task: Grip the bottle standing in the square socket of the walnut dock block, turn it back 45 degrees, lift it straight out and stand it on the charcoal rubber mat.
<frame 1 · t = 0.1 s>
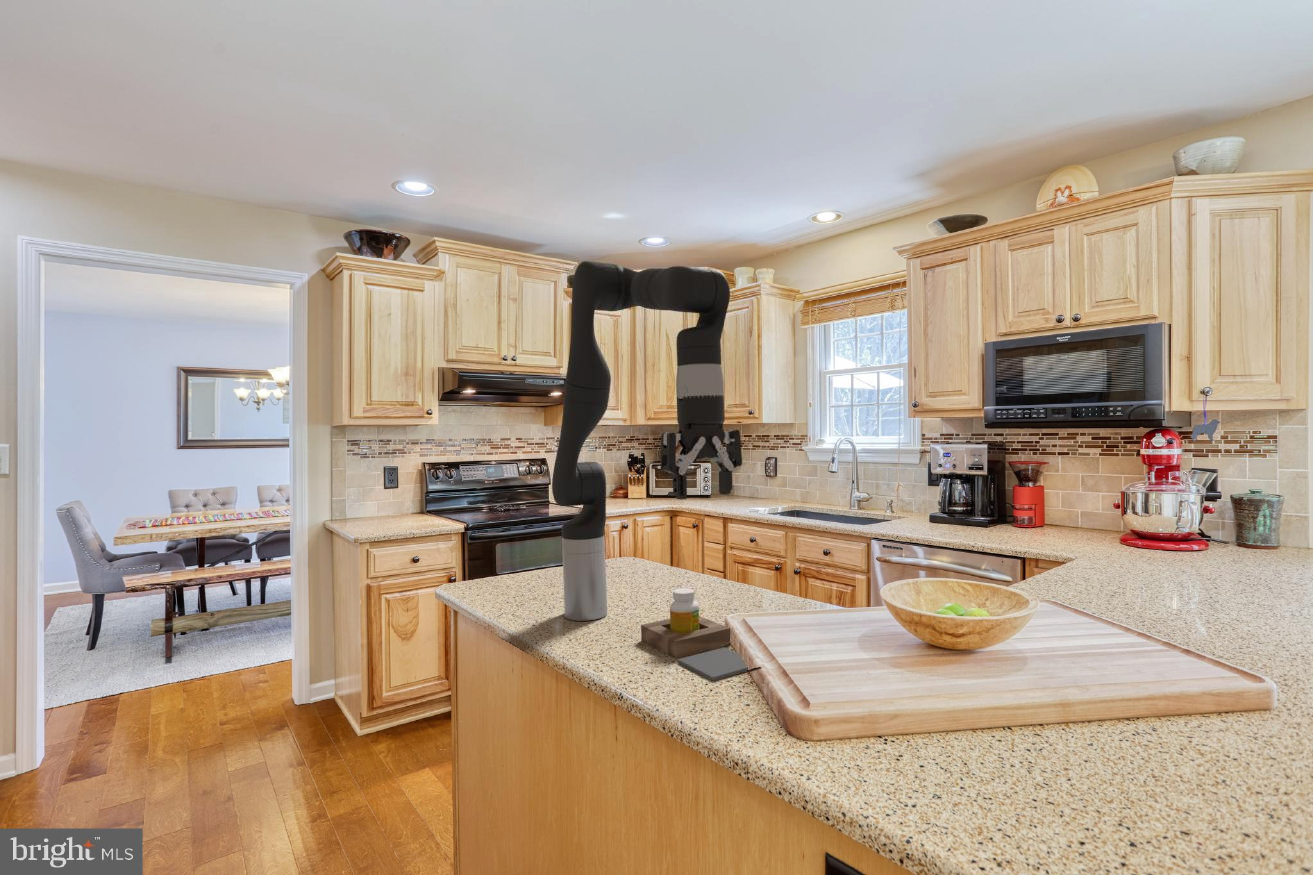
hand: (703, 496, 105), 29 cm above the countertop, tool pointing down, fingers open, 8 cm apart
supplement bottle: (685, 643, 123), resting in dock
mat: (719, 664, 111), on the countertop
dock: (685, 642, 123), on the countertop
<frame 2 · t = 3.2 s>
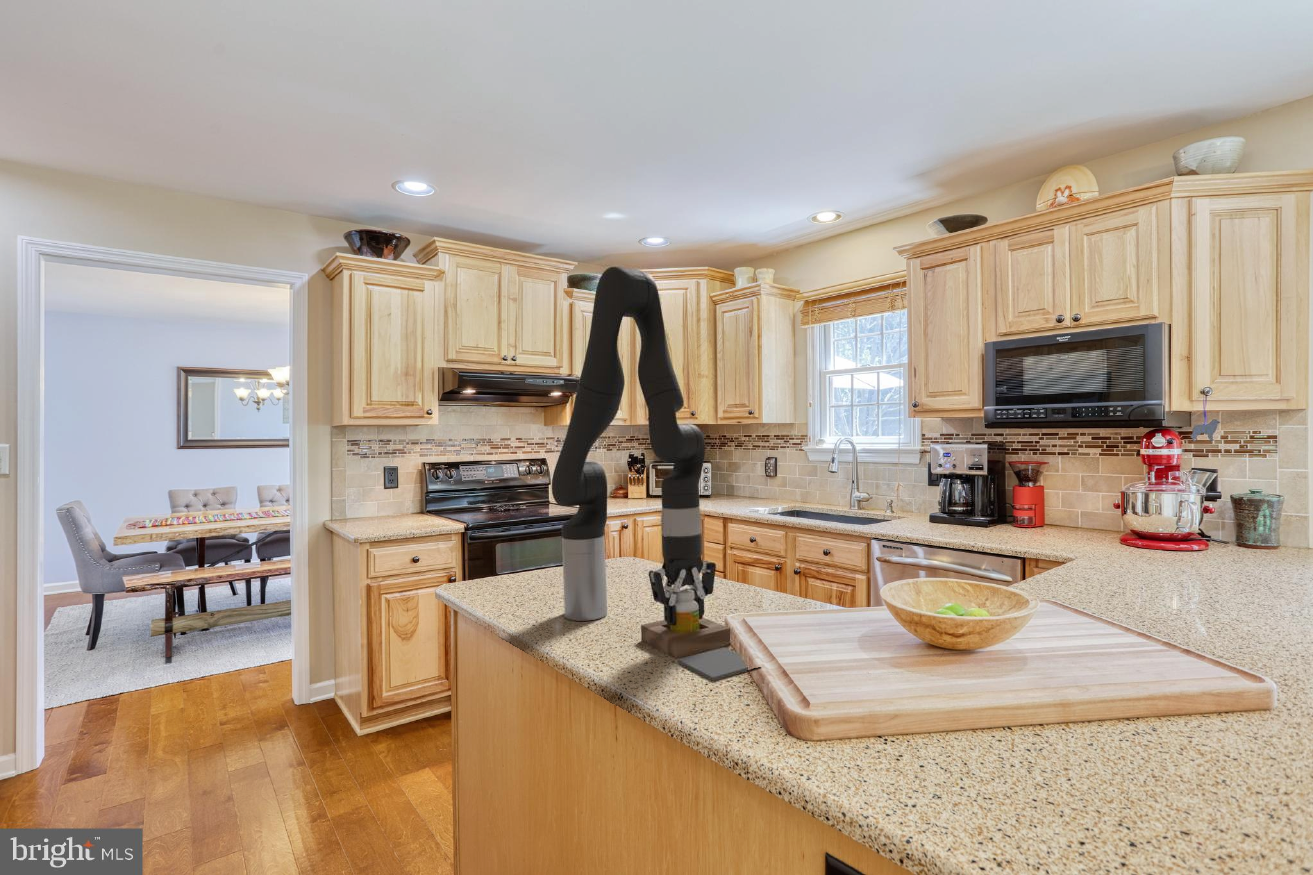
hand: (684, 621, 123), 4 cm above the countertop, tool pointing down, fingers closed on supplement bottle, 5 cm apart
supplement bottle: (685, 643, 123), resting in dock, touching gripper
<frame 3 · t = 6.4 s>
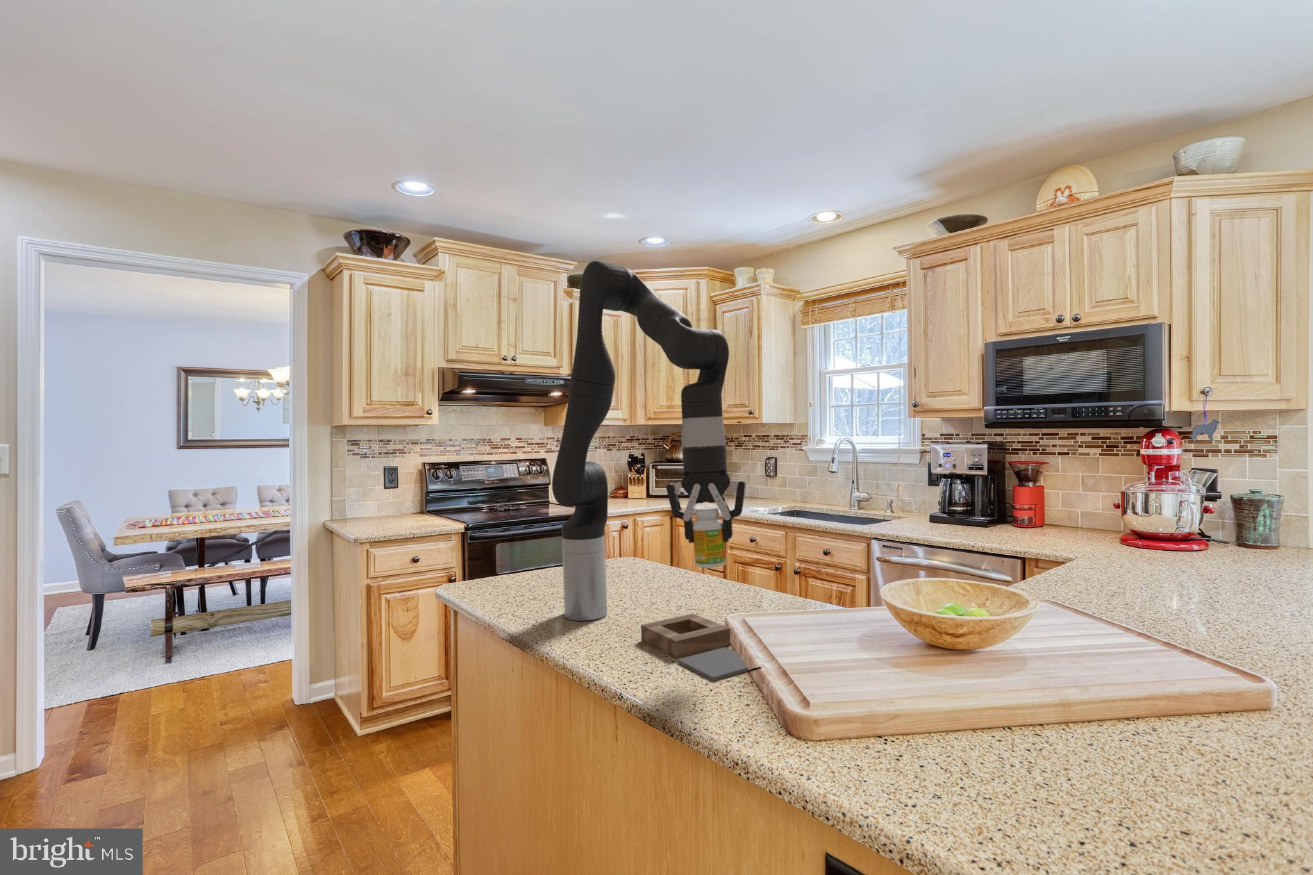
hand: (708, 541, 114), 20 cm above the countertop, tool pointing down, fingers closed on supplement bottle, 5 cm apart
supplement bottle: (711, 566, 114), point 16 cm above the countertop, touching gripper
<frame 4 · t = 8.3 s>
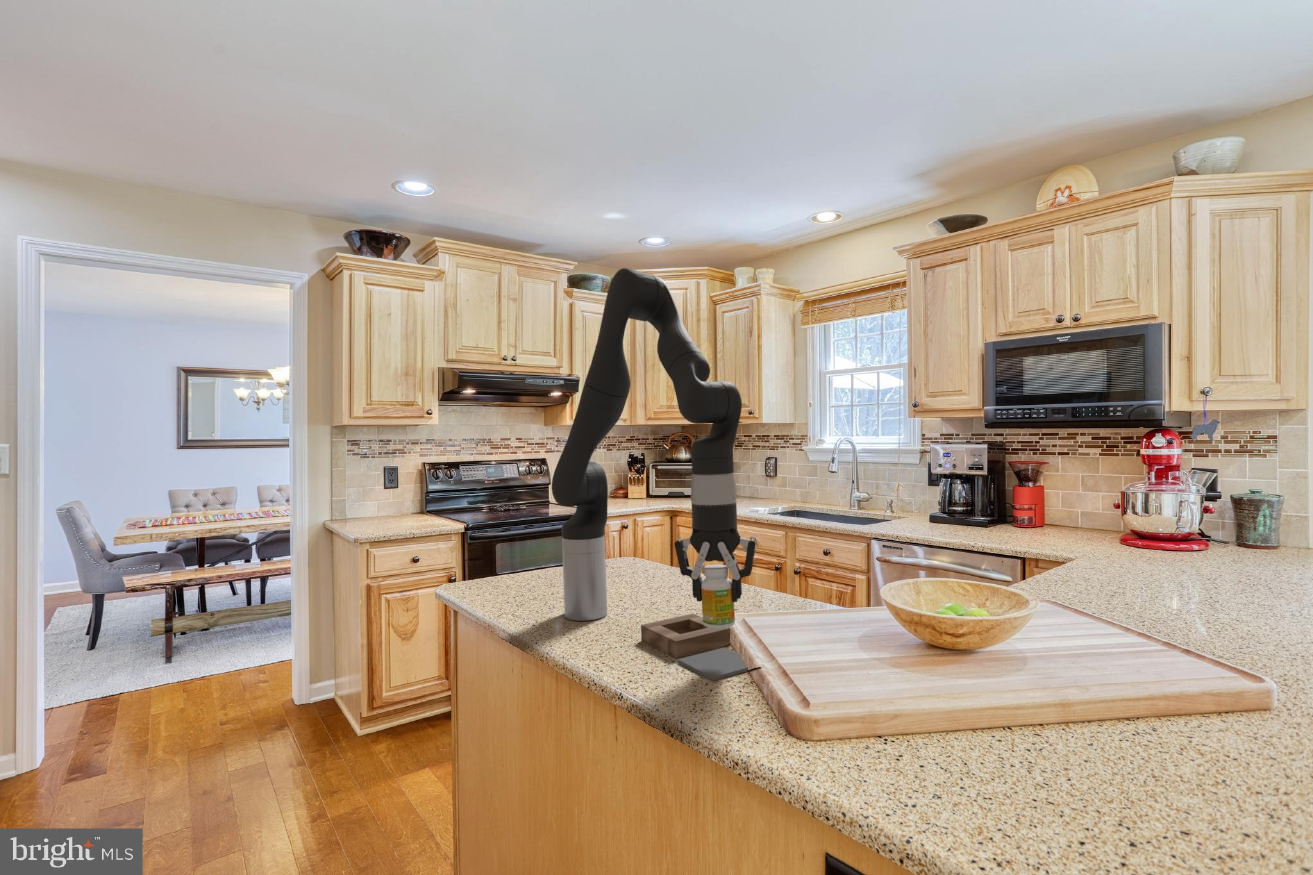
hand: (717, 600, 111), 11 cm above the countertop, tool pointing down, fingers closed on supplement bottle, 5 cm apart
supplement bottle: (719, 625, 111), point 7 cm above the countertop, touching gripper
when the fingers open (6 cm above the countertop, at t = 9.7 s): supplement bottle drops 1 cm, resting on mat.
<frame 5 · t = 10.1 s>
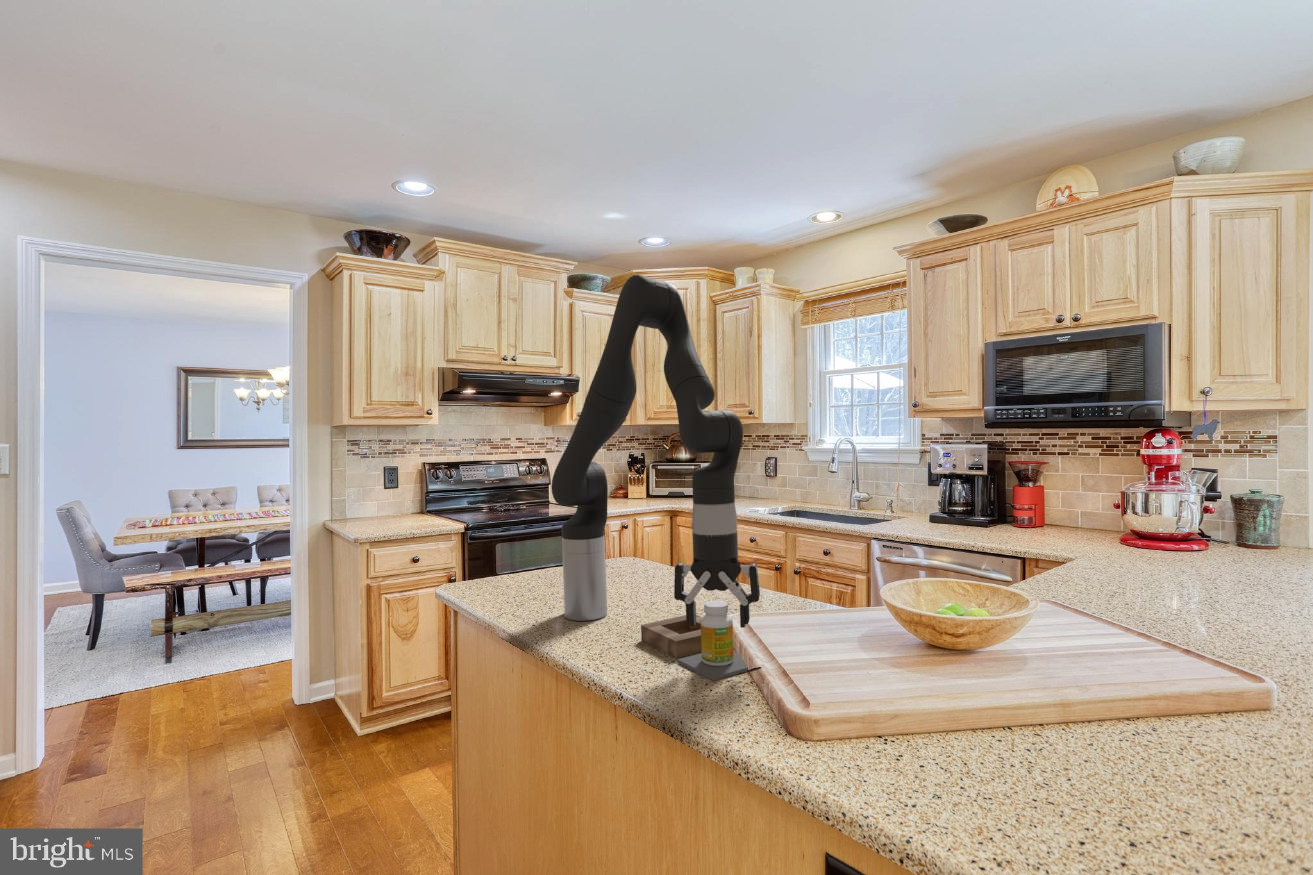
hand: (717, 625, 111), 7 cm above the countertop, tool pointing down, fingers open, 8 cm apart
supplement bottle: (717, 662, 111), resting on mat
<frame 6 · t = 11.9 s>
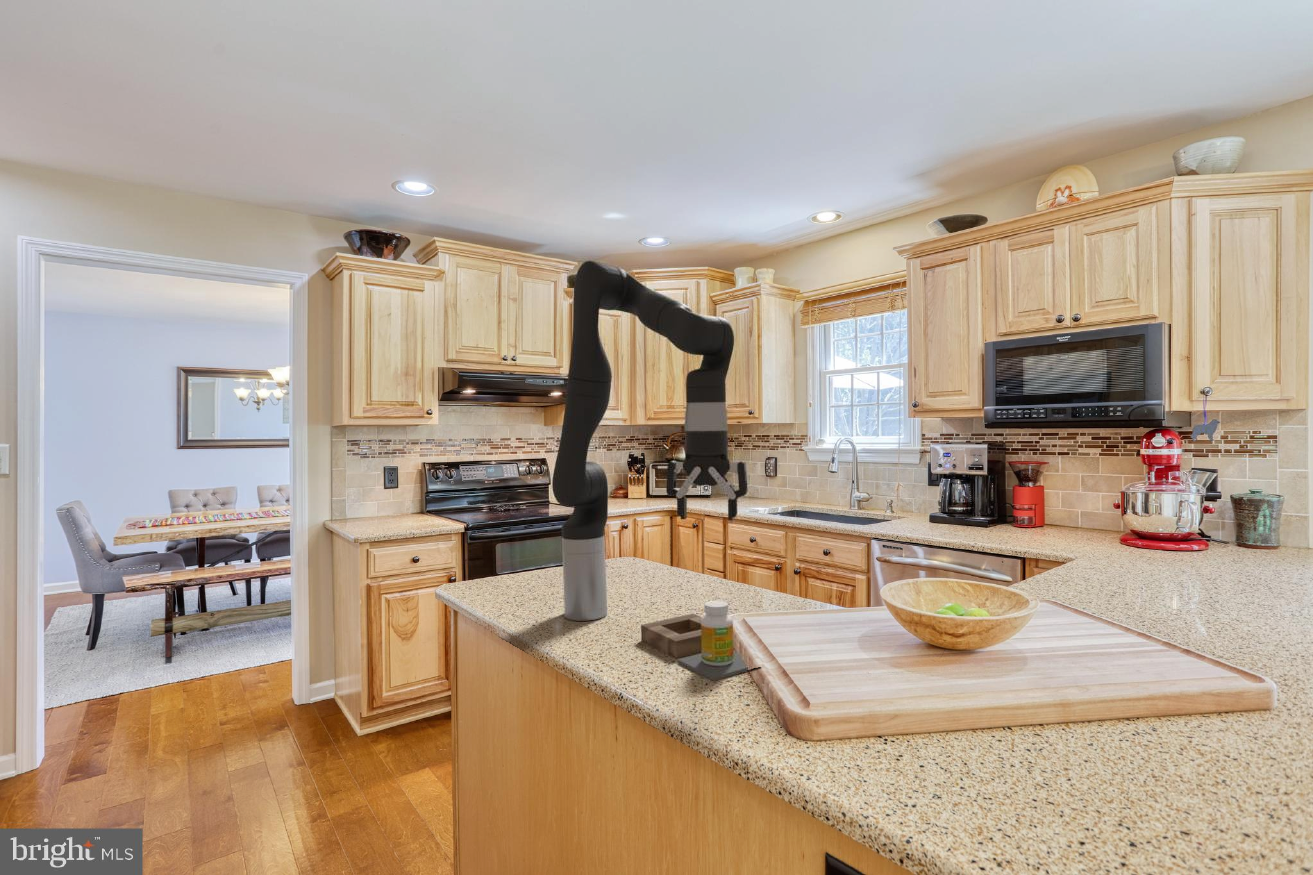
hand: (707, 519, 117), 24 cm above the countertop, tool pointing down, fingers open, 8 cm apart
nothing on the countertop moved.
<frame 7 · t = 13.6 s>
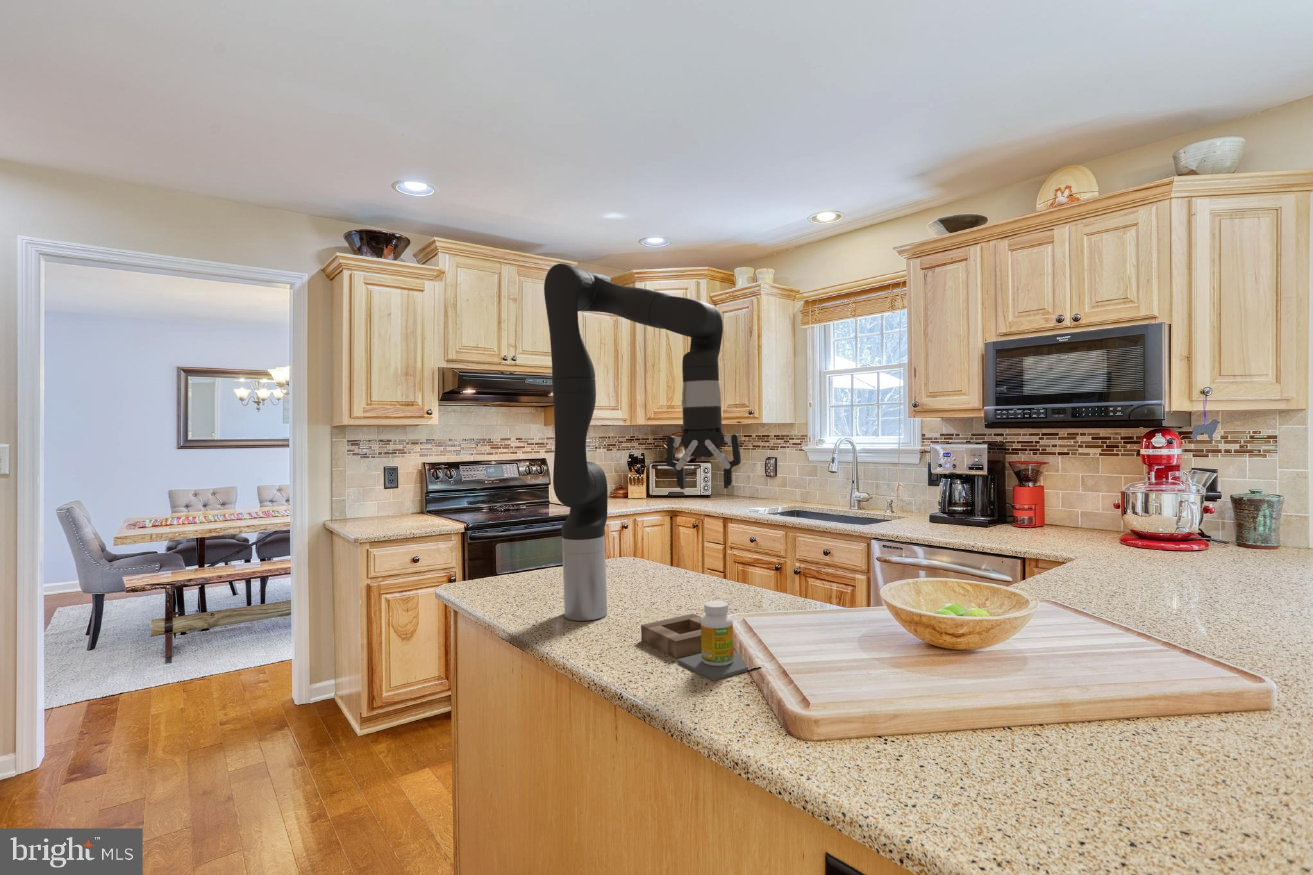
hand: (704, 488, 128), 28 cm above the countertop, tool pointing down, fingers open, 8 cm apart
nothing on the countertop moved.
at the end: supplement bottle inside the target area on the mat (0.2 cm from its centre), point 0.4 cm above the mat's base; supplement bottle tilted 0°; the gripper is holding nothing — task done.
